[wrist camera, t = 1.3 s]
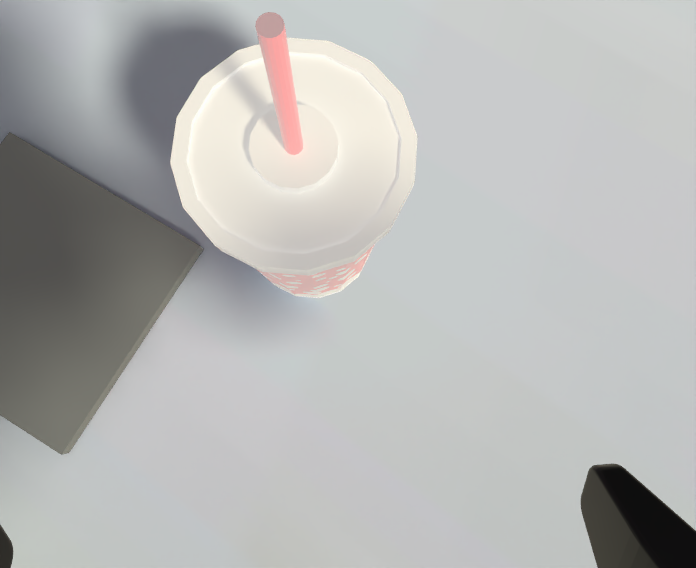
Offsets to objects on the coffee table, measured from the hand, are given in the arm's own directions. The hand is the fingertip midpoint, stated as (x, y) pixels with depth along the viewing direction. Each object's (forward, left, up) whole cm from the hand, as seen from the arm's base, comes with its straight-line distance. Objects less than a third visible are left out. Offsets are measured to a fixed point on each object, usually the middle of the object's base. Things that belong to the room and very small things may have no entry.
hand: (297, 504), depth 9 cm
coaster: (-1, +12, -13) cm, 18 cm away
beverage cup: (+6, +4, -13) cm, 15 cm away
